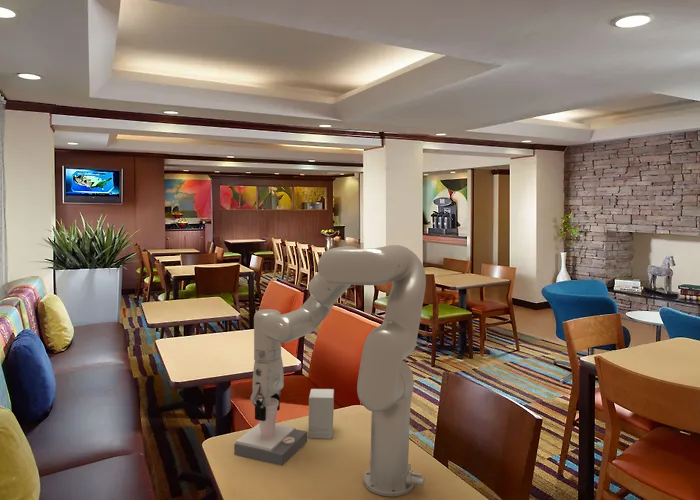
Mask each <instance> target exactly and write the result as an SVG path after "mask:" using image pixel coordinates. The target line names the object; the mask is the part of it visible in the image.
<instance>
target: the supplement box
mask: <svg viewBox="0 0 700 500" xmlns="http://www.w3.org/2000/svg"><path fill="white" fill-rule="evenodd" d="M334 400H335V389H334V388H311V389H310V392H309V396H308V427H307V428H308V430H307V439H308V438H309V439H333V431H334V430H333V428H334V411H335V410H334V408H335V407H334V406H335V405H334V404H335V401H334Z"/></svg>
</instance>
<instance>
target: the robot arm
mask: <svg viewBox="0 0 700 500" xmlns="http://www.w3.org/2000/svg"><path fill="white" fill-rule="evenodd" d="M317 271H318V272H317V273H316V274H315V275H314V276H313V277H312V279H310V281H309V282H308V285H307V286H308V287H307V288H308V291H309V294H310V296H309V297H308V298H307V299H306V301H305V302H304V303H303V304H302V305H301V306H300V307H299V308H297V309H296V310H295V309H294V310H292V311H290V312H287V313H282V314H281V312H280V311H279V310H277V309H273V308H266V309H259V310H257V311H255V313H254V316H253V359H254V360H253V362H254V363H253V369H252V371H253V373H252V393H251V395H250V398H249V399H250V401H251V402H252V405H253V407H254V419H255V421H259V420H260V421H265V420H266V407H264V405H265V401H266V398H275V399H277V400H278V401H279V406H278V407H277V412H278V411H280V409H281V406H280V405H281V404H280V403H281V395H282V394H281V391H282V389H284V386H285V385H284V384H285V383H284V381H285V378H284V365H283V357H282V344H286V343H287V344H288V343H290V342H293V341H296V340H297V339H299V338H303V337H305V336H307V335H309V334H311V333H312V332H313V331H314V330H315V329H316V328H317V327H318V326H319V325H320V324H321V323H322V322H323V321H324V320H325V319H326V317H328V316H329V314H330V312H331V310H332V309H333V307H334V304H335V303H336V302H337V301H338V299H340V297H341V296H342V295H343V294H345V292H346V291H347V290H348V289H349V288H350V287H351V286H381V285H385V284H388V283H392V284H391V289H390V291H389V294H388V297H387V302H386V308H385V313H384V317H383V322H382V323H381V324H380V325H378V326H376V327H375V328H373V329H372V330H371V331H370V332H369V333H368V335H367V336H366V339H365V341H364V344H363V345H362V346H363V347H362V353H361V359H360V365H359V370H358V376H357V377H358V378H357V384H356V386H357V387H356V391H357V397H358V400H359V402H360V403H361V405H362V406H363V407H364V408H365V409H366V410H368V411H369V412H371V419H370V420H371V422H370V424H371V425H370V458H369V460H370V461H369V469H368V470H367V471H366V472H365V473H364V474H363V485H364V486H365V488H367V490H369V491H370V492H372V493H373V494H376V495H379V496H381V497H382V496H383V497H399V496H404V495H405V494H407V493H409V492H411V491H412V489H413V487H414V485H415V486H419V487H422V488H423V487H424V486H425V479H426V478H424V477H423V474H422V473H421V472H415V471H413V470H412V464H410V463H409V446H410V444H409V443H410V423H411V421H410V420H411V419H410V418H411V406H412V405H411V404H412V398H413V392H414V385H415V383H414V382H415V381H414V378H415V377H414V373H413V371H412V368H411V367H410V366H409V364H407V362H406V361H404V360H405V359H406V358H407V357H409V356H410V355H411V354H413V352H414V350H415V349H416V346H417V341H418V336H419V335H418V334H419V328H420V325H421V324H420V323H421V317H422V311H423V310H422V309H423V304H424V298H425V295H426V294H425V293H426V287H427V286H426V285H427V277H426V271H425V268H424V265H423V263H422V260H421V259H420V258H419V257H418V255H417V254H416V253H415V252H414V251H412V249H409V248H408V247H406V246H403V245H400V244H391V245H385V246H380V247H376V248H358V247H355V246H352V245H345V246H339V247H338V246H337V247H333V248H329V249H328V250H326V251H324V252H323V253H322V254H321V256H320V257H319V259H318V262H317ZM259 399H262V402H261V401H260V400H259Z"/></svg>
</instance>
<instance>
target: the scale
mask: <svg viewBox="0 0 700 500" xmlns="http://www.w3.org/2000/svg"><path fill="white" fill-rule="evenodd" d="M307 442H308V430H307V431H306V430H301V429H297V428H296V427H295V426H291V425H286V424H281V423H275V430H274V435H273V436H272V437H262V436H261V431H260V424H259V423H257V424H256V425H255V426H254V427H252V428H250V429H249V430H248V431H247V432H246V433H244V434H243V435H242V436H240V437H239V438H237V439H236V440H235V443H234V444H233V445H234V446H233V449H234V450H233V451H234V454H233V455H235V456H239V457H244V458H248V459H252V460H256V461H261V462H265V463H268V464H272V465H277V466H282V467H283V465H284V464H286V463H287V462H288V461H289V460H290V459H291V458H292V457H293V456H294V455H295V454H296V453H297V452H298V451H299V450H300V449H301V448H302V447H303V446H304V445H305V444H306V443H307Z"/></svg>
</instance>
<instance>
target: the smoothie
mask: <svg viewBox="0 0 700 500" xmlns="http://www.w3.org/2000/svg"><path fill="white" fill-rule="evenodd" d="M259 400H260V401H261V402H262V398H259ZM278 406H279V401H278V400H277V399H275V398H266V401H265V405H264V407H266V420H265V421H260V420H258V421H259V422H258V424H260V431H261V436H262V437H272V436H273V435H274V430H275V423H276V421H277V413H278V411H277V407H278Z"/></svg>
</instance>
